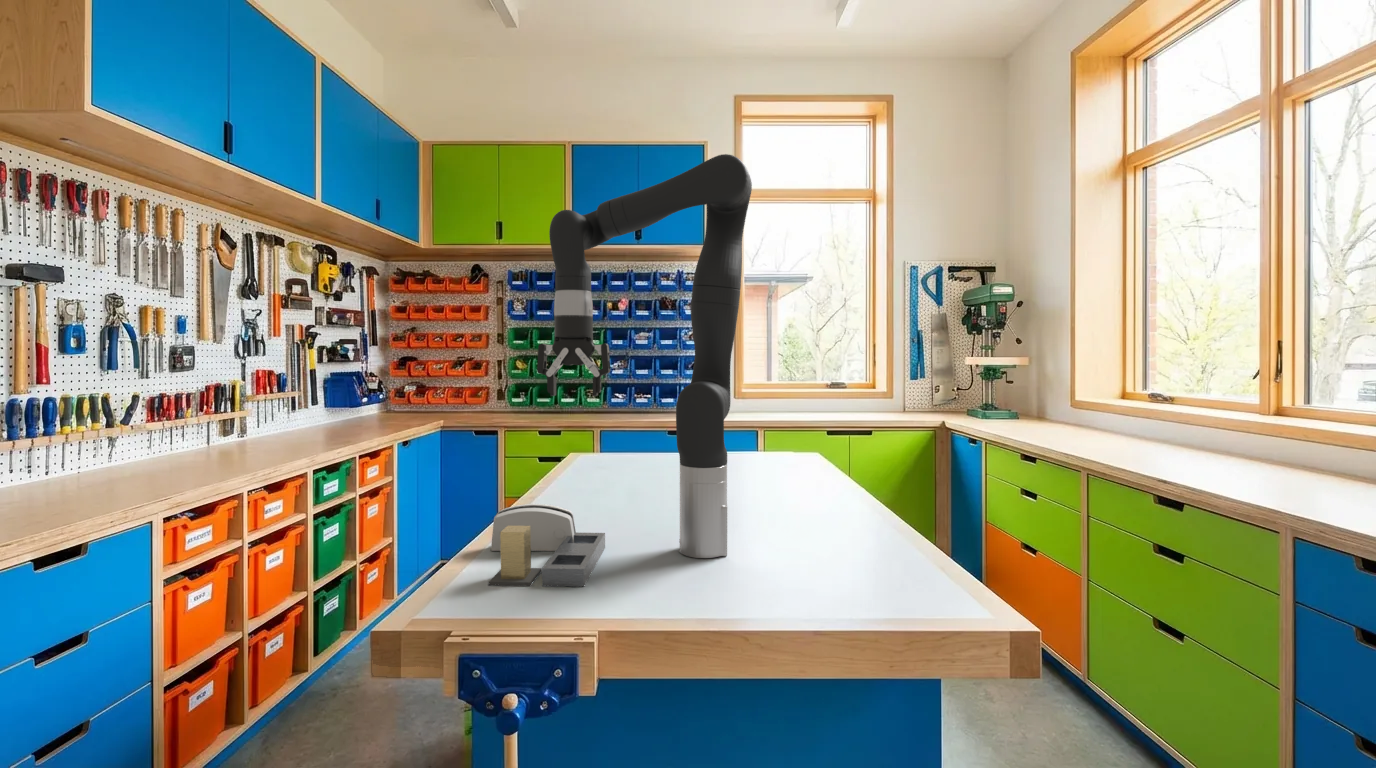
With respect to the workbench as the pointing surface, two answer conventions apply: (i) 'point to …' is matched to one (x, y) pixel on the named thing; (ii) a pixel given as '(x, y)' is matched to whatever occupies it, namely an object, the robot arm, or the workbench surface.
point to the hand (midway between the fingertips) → (574, 395)
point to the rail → (574, 560)
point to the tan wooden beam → (515, 552)
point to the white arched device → (536, 525)
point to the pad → (515, 582)
